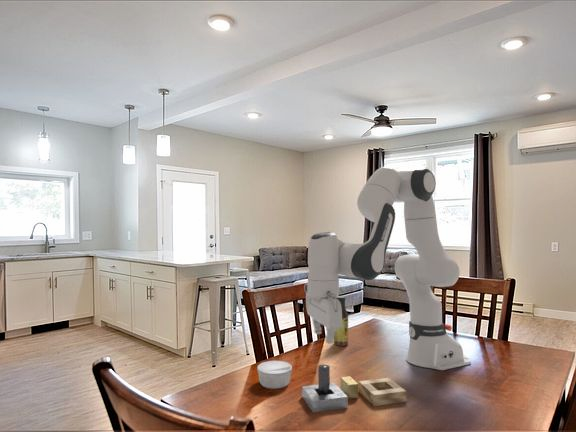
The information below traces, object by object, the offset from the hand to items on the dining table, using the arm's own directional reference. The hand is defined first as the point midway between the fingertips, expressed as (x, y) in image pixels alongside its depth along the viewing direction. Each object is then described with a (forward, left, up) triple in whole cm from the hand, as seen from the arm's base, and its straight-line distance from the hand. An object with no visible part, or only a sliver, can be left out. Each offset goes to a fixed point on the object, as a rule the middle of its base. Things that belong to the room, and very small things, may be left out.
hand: (323, 338), depth 111 cm
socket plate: (0, 0, -18) cm, 18 cm away
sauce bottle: (-26, -49, -18) cm, 58 cm away
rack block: (-18, +1, -18) cm, 25 cm away
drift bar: (-9, -3, -18) cm, 20 cm away
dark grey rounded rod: (0, 0, -18) cm, 18 cm away
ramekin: (+10, -17, -18) cm, 27 cm away
